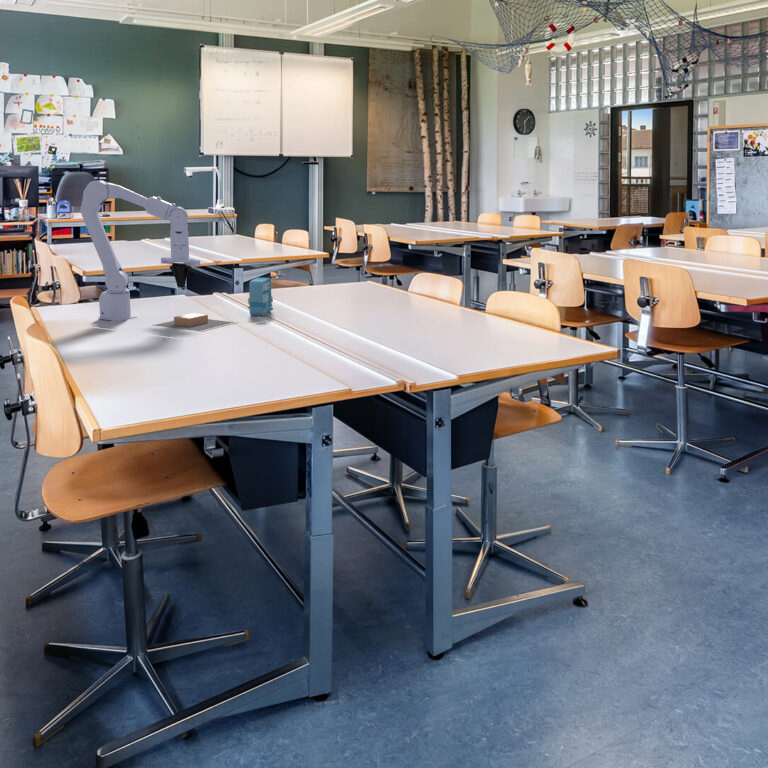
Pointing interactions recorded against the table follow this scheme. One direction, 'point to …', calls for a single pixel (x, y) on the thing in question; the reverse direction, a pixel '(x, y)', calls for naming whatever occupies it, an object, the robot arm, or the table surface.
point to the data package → (260, 296)
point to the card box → (190, 319)
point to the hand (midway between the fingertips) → (181, 287)
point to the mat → (200, 327)
